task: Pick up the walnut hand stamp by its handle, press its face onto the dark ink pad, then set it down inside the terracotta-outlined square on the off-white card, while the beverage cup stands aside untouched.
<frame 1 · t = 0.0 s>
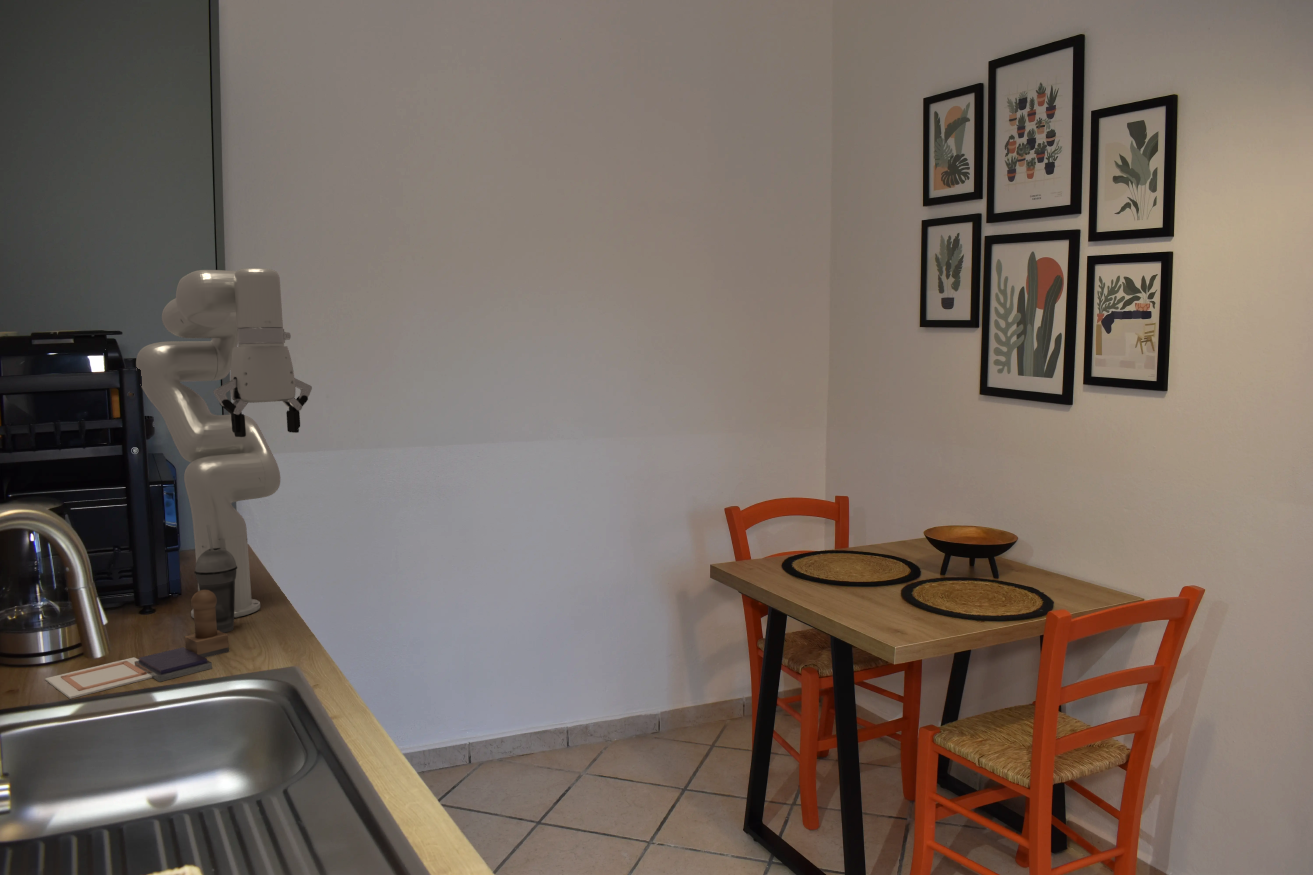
hand: (267, 434, 165), 37 cm above the counter, tool pointing down, fingers open, 9 cm apart
print card: (104, 677, 147), on the counter
stamp: (207, 652, 159), on the counter
ink pad: (173, 667, 151), on the counter
beverage cup: (220, 631, 172), on the counter
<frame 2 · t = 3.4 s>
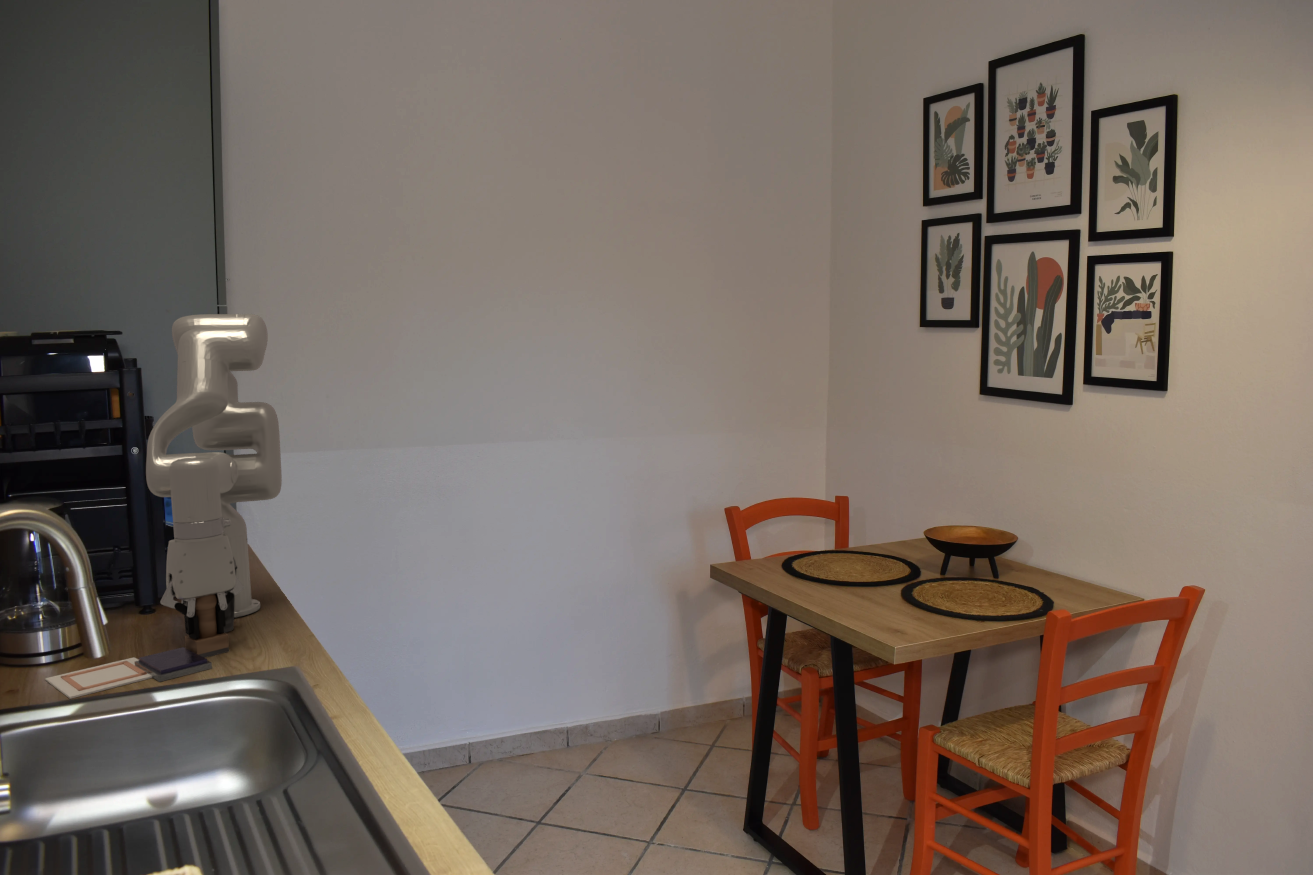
hand: (206, 633, 158), 3 cm above the counter, tool pointing down, fingers closed on stamp, 3 cm apart
stamp: (207, 652, 159), on the counter, touching gripper
everything else where it was.
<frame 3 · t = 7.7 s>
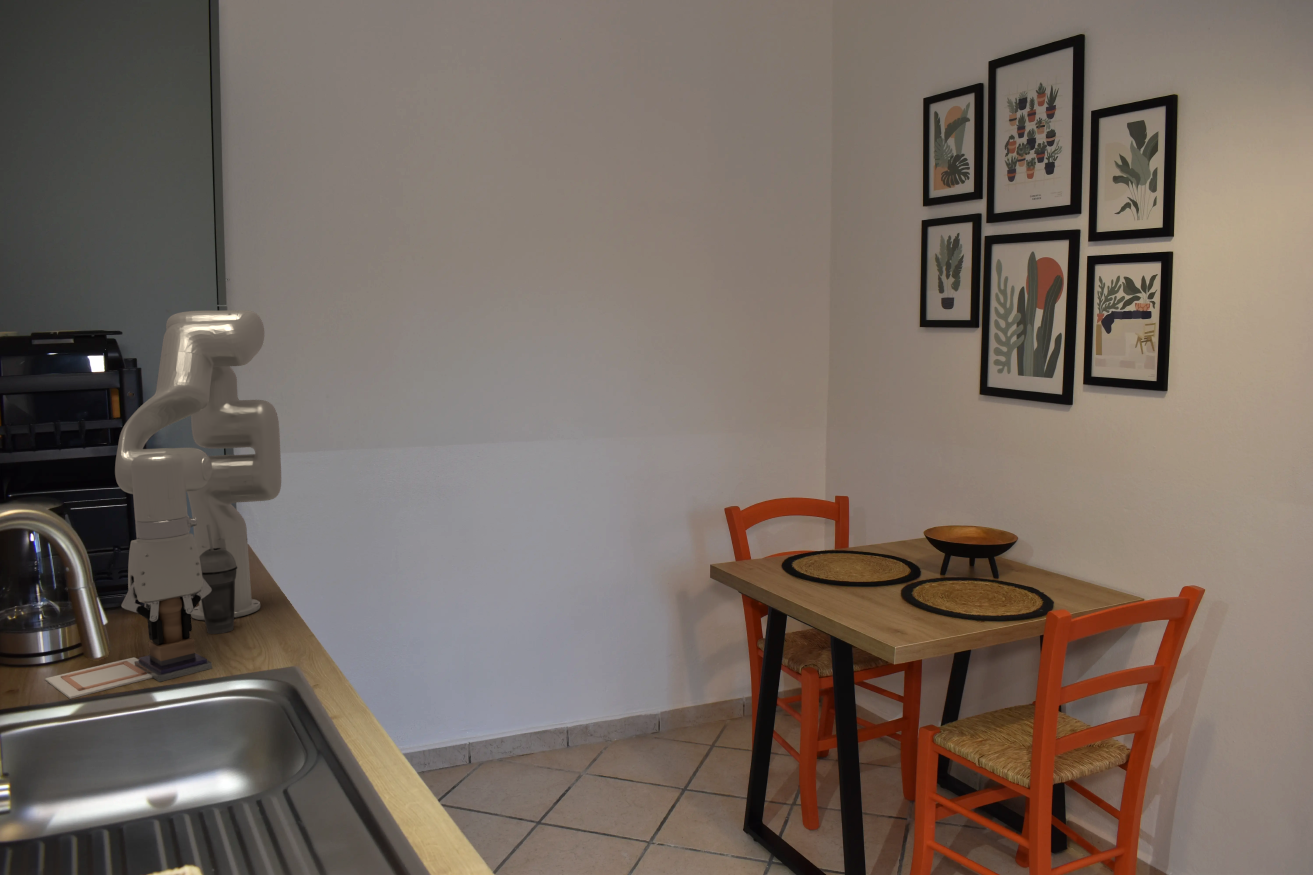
hand: (171, 638, 150), 5 cm above the counter, tool pointing down, fingers closed on stamp, 3 cm apart
stamp: (172, 658, 151), point 2 cm above the counter, touching gripper, ink pad
everything else where it was.
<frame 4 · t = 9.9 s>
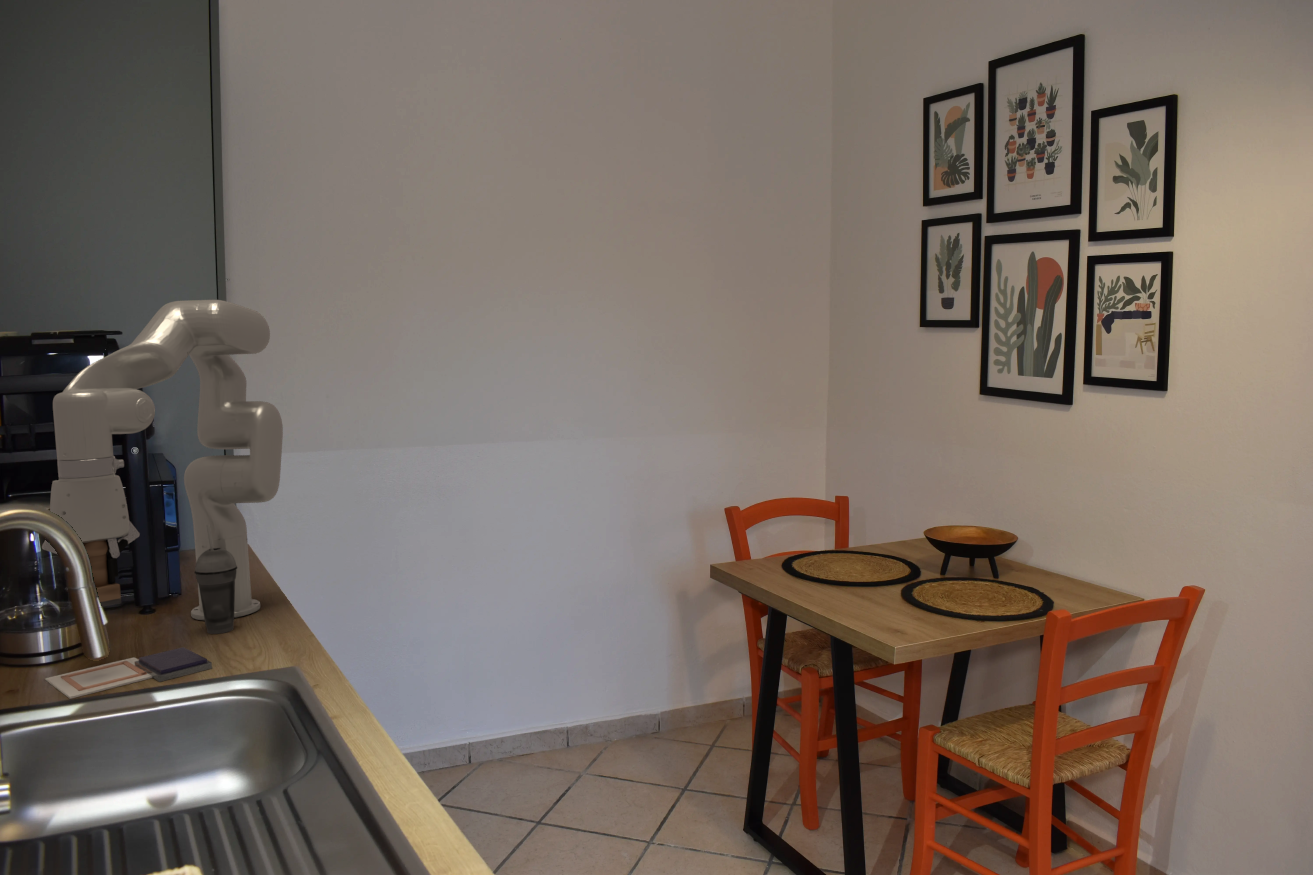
hand: (95, 583, 146), 15 cm above the counter, tool pointing down, fingers closed on stamp, 3 cm apart
stamp: (97, 603, 146), point 12 cm above the counter, touching gripper
everything else where it was.
when the fingers open (4 cm above the counter, at t = 12.1 s): stamp stays where it is, resting on print card.
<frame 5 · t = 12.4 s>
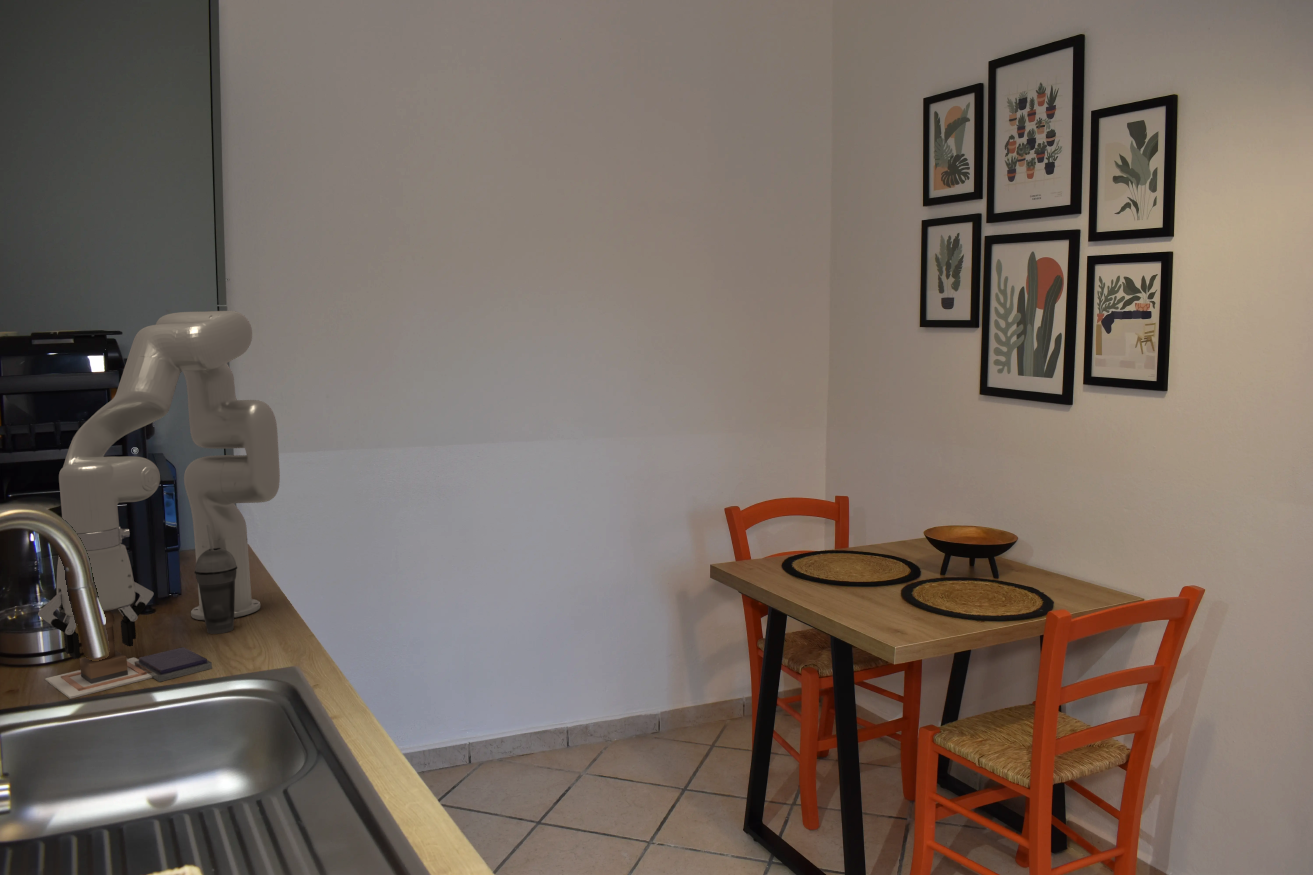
hand: (101, 649, 147), 5 cm above the counter, tool pointing down, fingers open, 7 cm apart
stamp: (104, 675, 147), resting on print card
everything else where it was.
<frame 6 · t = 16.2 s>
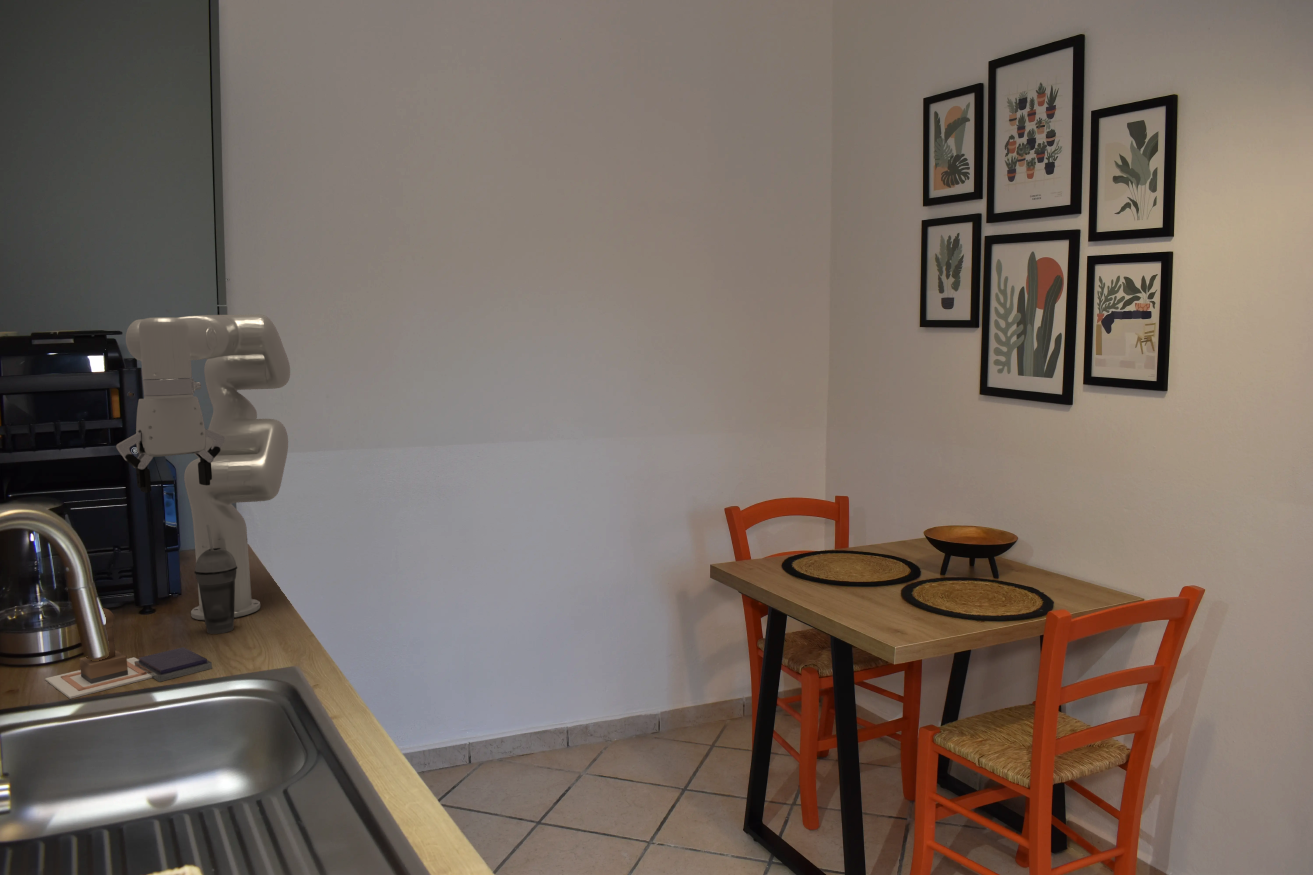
hand: (176, 488, 160), 28 cm above the counter, tool pointing down, fingers open, 9 cm apart
nothing on the counter moved.
at the end: stamp 0.1 cm off-centre on the print card, point 0.3 cm above the print card's base; stamp tilted 0°; the gripper is holding nothing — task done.
